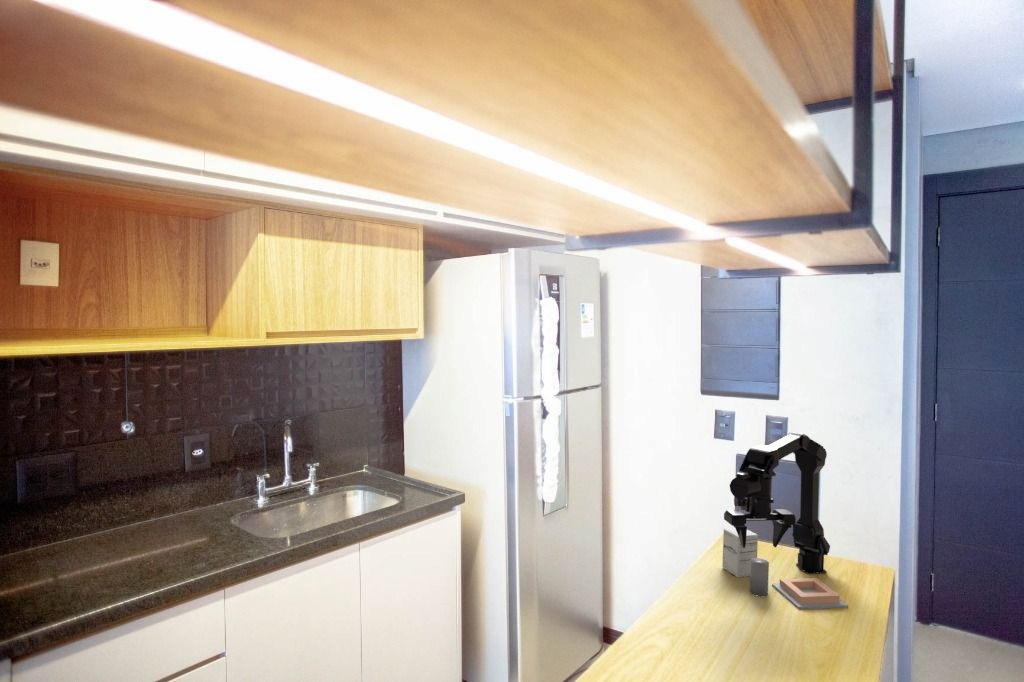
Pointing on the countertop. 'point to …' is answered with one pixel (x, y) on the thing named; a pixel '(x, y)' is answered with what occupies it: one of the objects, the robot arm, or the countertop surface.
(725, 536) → the supplement box
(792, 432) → the robot arm
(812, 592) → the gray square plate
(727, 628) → the countertop surface
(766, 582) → the grey rounded tapered cylinder
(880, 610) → the countertop surface
